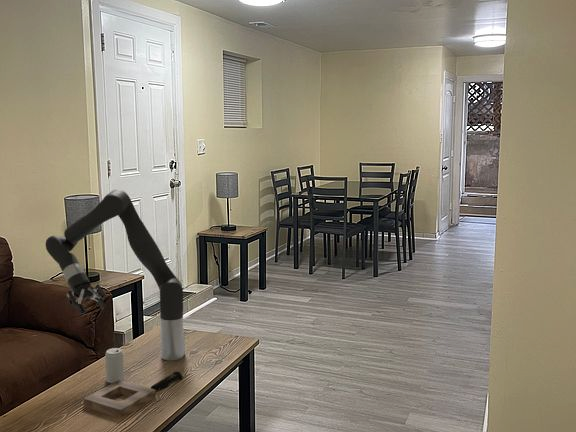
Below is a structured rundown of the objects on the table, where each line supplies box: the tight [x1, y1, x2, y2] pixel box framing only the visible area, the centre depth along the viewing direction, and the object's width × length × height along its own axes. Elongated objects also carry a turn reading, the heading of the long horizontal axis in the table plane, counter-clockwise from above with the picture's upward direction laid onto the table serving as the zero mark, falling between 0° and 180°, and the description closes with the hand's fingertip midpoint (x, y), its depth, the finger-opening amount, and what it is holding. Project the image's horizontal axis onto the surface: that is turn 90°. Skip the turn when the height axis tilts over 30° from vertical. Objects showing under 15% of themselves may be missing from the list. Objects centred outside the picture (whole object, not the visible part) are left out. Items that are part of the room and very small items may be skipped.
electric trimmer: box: [150, 371, 183, 392], centre depth 214 cm, size 4×16×3 cm, turn 151°
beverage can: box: [104, 347, 125, 384], centre depth 216 cm, size 6×6×12 cm
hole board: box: [82, 380, 156, 419], centre depth 200 cm, size 17×17×3 cm
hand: (94, 311), depth 224 cm, fingers open, 8 cm apart
